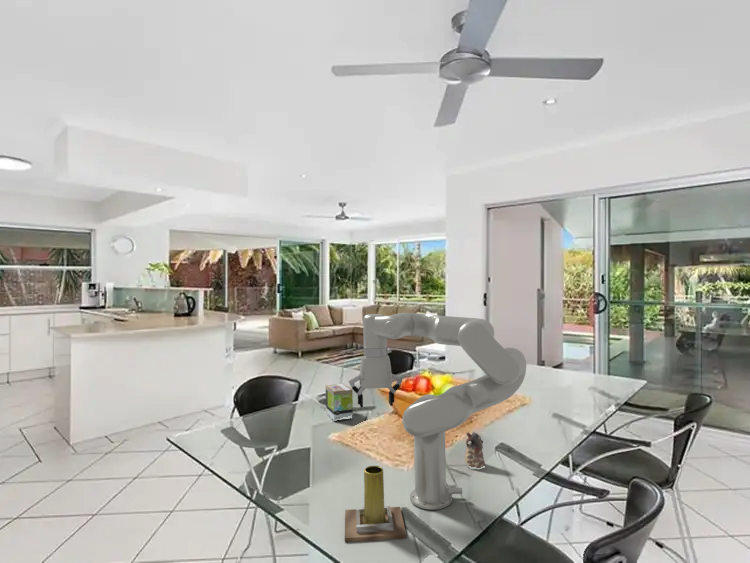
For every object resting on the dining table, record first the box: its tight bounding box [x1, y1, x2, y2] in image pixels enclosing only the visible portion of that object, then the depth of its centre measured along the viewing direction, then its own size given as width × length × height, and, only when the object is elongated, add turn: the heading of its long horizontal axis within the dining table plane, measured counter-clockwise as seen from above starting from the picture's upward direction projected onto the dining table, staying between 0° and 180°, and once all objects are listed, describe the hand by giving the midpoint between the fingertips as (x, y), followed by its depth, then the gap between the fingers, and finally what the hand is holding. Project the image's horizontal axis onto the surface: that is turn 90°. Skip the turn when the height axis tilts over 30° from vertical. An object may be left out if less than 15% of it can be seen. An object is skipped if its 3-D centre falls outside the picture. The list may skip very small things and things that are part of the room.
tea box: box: [325, 383, 354, 421], centre depth 218 cm, size 15×10×15 cm
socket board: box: [344, 505, 407, 543], centre depth 121 cm, size 16×14×2 cm
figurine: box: [464, 431, 486, 468], centre depth 157 cm, size 7×7×12 cm
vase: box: [363, 465, 386, 524], centre depth 121 cm, size 6×6×14 cm
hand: (376, 405), depth 142 cm, fingers open, 9 cm apart
